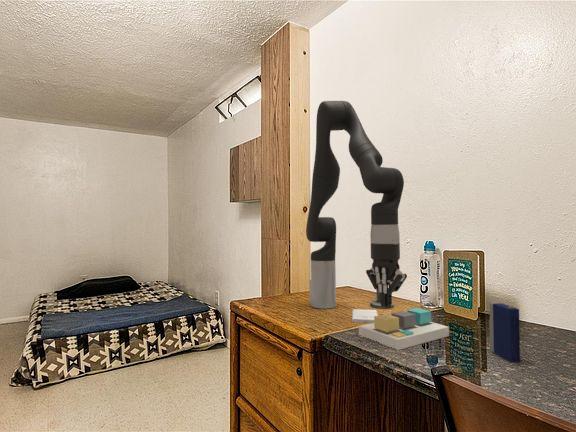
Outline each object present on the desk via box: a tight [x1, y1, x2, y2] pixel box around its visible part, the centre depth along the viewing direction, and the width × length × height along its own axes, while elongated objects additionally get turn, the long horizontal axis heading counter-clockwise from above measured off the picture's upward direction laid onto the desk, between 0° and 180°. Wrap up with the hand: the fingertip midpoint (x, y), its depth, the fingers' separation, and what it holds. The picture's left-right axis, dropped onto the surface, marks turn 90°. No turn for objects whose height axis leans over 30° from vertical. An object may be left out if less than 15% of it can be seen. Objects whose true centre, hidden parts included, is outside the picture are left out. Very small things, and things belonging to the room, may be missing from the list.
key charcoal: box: [391, 310, 416, 328], centre depth 100 cm, size 4×4×3 cm
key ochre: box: [374, 313, 399, 332], centre depth 96 cm, size 4×4×3 cm
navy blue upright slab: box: [488, 301, 521, 363], centre depth 84 cm, size 7×2×12 cm, turn 4°
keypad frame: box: [358, 321, 450, 351], centre depth 100 cm, size 14×20×3 cm
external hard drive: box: [351, 308, 379, 324], centre depth 119 cm, size 2×8×12 cm
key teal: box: [406, 307, 432, 324], centre depth 103 cm, size 4×4×3 cm
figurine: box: [369, 282, 395, 310], centre depth 134 cm, size 8×8×12 cm
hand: (386, 306), depth 96 cm, fingers closed
